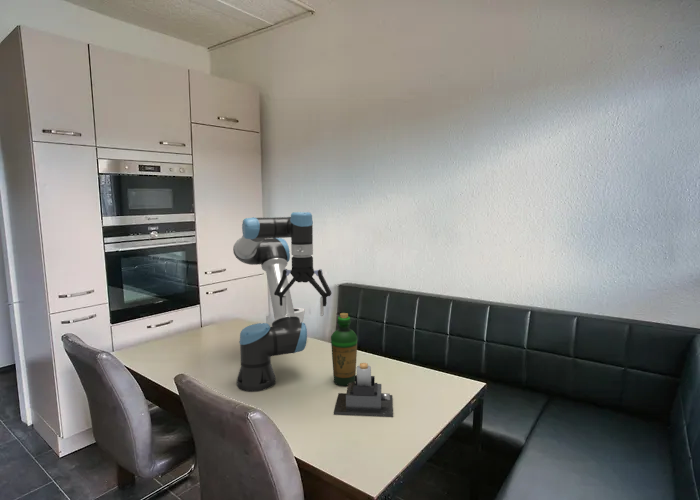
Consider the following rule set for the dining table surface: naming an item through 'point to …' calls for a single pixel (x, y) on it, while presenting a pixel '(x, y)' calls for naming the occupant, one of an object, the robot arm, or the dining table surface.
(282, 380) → the dining table surface
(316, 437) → the dining table surface
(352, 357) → the bottle
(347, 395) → the stepped square mount
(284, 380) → the dining table surface
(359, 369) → the grey cylinder with ball
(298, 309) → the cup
